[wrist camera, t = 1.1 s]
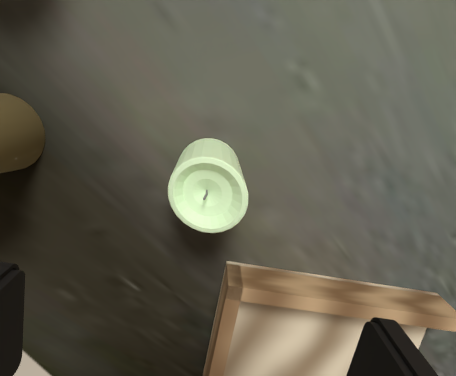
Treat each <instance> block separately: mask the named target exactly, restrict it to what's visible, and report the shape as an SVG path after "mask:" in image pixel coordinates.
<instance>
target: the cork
mask: <svg viewBox="0 0 456 376" xmlns="http://www.w3.org/2000/svg"><path fill="white" fill-rule="evenodd" d="M44 145H45V130H44V127H43V125H42V122H41V119H40V117H39V116H38V115H37V113H36V112H35V111H34V109H33V108H32V107H31V106H30V105H28V104H27V103H26V102H25V101H23V100H22V99H20V98H18V97H15V96H13V95H10V94H5V93H0V173H4V172H9V171H15V170H19V169H24V168H27V167H28V166H30V165H31V164H33V163H35V162H36V160H37V159H38V158H39V156H40V155H41V154H42V151H43V148H44Z"/></svg>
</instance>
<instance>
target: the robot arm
mask: <svg viewBox="0 0 456 376" xmlns="http://www.w3.org/2000/svg"><path fill="white" fill-rule="evenodd" d="M24 289H25V273H24V271H20V270H19V267H18V265H17V264H12V263H5V262H0V376H13V375H14V373H15V372H16V370H17V369H18V367H19V364H20V362H21V358H22V344H23V316H24ZM346 376H438V375H437V374H436V372H435V371H434V370H433V368H432V367H431V366H430V364H429V363H428V362H427V360H426V359H425V358H424V356H423V355H422V354H421V353H420V351H419V350H418V349H417V347H416V346H415V345H414V343H413V342H412V341H411V339H410V338H409V337H408V335H407V334H406V333H405V332H404V330H403V329H402V328H401V326H400V325H399V324H398V323H397V322H396V321H395V320H391V319H384V318H377V317H374V318H372V319H371V320H370V322H366V323H365V324H364V327H363V330H362V332H361V335H360V338H359V341H358V344H357V347H356V350H355V352H354V355H353V358H352V361H351V364H350V367H349V369H348V372H347V375H346Z"/></svg>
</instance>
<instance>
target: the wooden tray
mask: <svg viewBox="0 0 456 376" xmlns="http://www.w3.org/2000/svg"><path fill="white" fill-rule="evenodd" d="M374 317H377V318H384V319H391V320H395V321H396V322H397V323H398V324H399V325H400V326H401V328H402V329H403V330H404V332H405V333H406V334H407V335H408V337H409V338H410V339H411V341H412V342H413V343H414V345H415V346H416V347H417V349H418V348H419V346H420V343H421V341H422V339H423V336H424V334H425V331H426V329H427V328H433V329H440V330H447V331H454V332H456V311H455V310H454V309H453V308H452V307H451V306H450V305H449V304H448V303H447V302H446V301H445V300H444V299H443V298H441V297H440V296H439V295H438V294H437V293H434V292H428V291H421V290H415V289H408V288H401V287H395V286H388V285H382V284H375V283H369V282H362V281H355V280H349V279H342V278H336V277H329V276H323V275H316V274H309V273H303V272H296V271H290V270H283V269H277V268H270V267H263V266H257V265H250V264H244V263H237V262H231V261H226V266H225V271H224V276H223V281H222V285H221V290H220V295H219V300H218V305H217V309H216V314H215V319H214V324H213V329H212V333H211V338H210V343H209V348H208V353H207V357H206V362H205V367H204V372H203V376H346V375H347V372H348V369H349V367H350V364H351V361H352V358H353V355H354V352H355V350H356V347H357V344H358V341H359V338H360V335H361V332H362V330H363V327H364V324H365V323H366V322H370V320H371V319H372V318H374Z"/></svg>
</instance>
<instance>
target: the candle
mask: <svg viewBox="0 0 456 376" xmlns="http://www.w3.org/2000/svg"><path fill="white" fill-rule="evenodd" d="M168 198H169V201H170V205H171V207H172V209H173V211H174V212H175V214H176V216H177V217H178V218H179V219H180V220H181V221H182V222H183V223H185V224H186V225H188V226H189V227H191V228H193V229H195V230H198V231H201V232H207V233H218V232H223V231H226V230H228V229H231V228H232V227H234V226H235V225H236V224H238V223H239V222H240V220H241V219H242V218H243V216H244V215H245V212H246V209H247V207H248V191H247V187H246V184H245V180H244V177H243V174H242V171H241V168H240V165H239V161H238V158H237V156H236V154H235V153H234V151H233V150H232V149H231V148H230V147H229V146H228V145H227V144H226V143H224V142H222V141H220V140H217V139H213V138H204V139H200V140H196V141H195V142H193V143H191V144H189V145H188V146H187V147H186V148H185V149H184V150H183V152H182V154H181V156H180V158H179V160H178V162H177V164H176V166H175V169H174V171H173V173H172V175H171V177H170V181H169V185H168Z"/></svg>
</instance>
